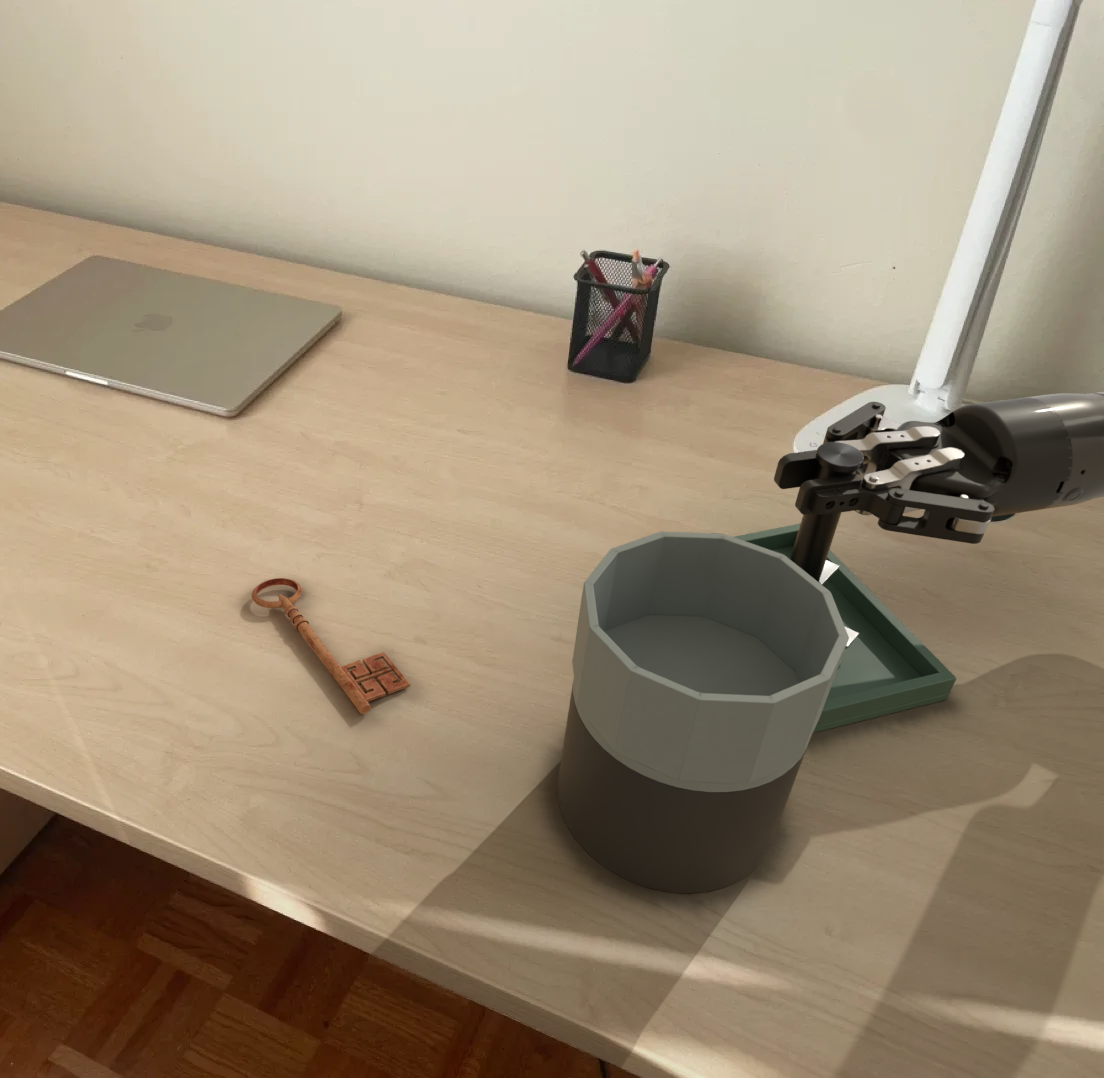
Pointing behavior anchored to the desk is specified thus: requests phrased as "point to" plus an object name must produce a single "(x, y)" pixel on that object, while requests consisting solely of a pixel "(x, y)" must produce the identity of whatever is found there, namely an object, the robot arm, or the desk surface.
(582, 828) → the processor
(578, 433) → the desk surface
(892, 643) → the tray
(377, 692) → the key
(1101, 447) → the robot arm
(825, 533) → the blade
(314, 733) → the desk surface
